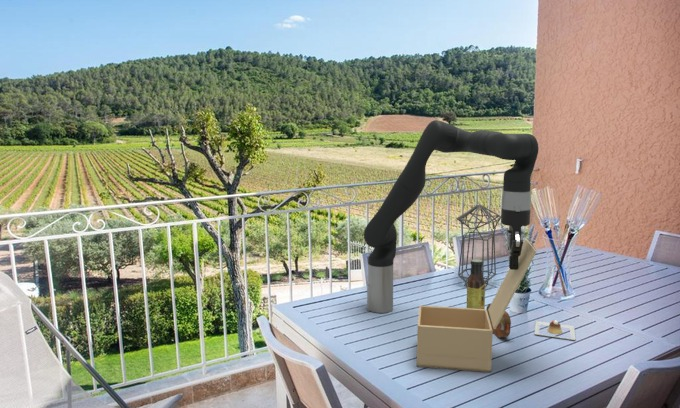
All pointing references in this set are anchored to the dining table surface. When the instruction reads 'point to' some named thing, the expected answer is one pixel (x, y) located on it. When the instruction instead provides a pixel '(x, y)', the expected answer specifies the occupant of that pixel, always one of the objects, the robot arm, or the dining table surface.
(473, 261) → the sauce bottle
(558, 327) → the dessert
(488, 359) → the carton
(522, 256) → the lid flap
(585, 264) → the dining table surface
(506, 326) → the steak
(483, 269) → the geometric lantern
